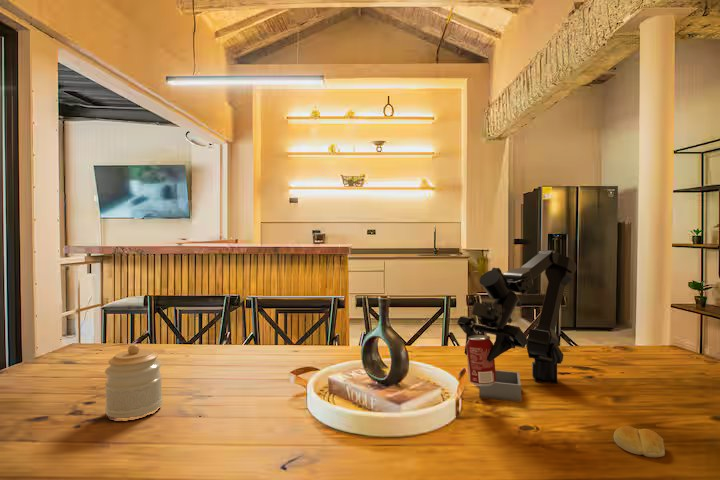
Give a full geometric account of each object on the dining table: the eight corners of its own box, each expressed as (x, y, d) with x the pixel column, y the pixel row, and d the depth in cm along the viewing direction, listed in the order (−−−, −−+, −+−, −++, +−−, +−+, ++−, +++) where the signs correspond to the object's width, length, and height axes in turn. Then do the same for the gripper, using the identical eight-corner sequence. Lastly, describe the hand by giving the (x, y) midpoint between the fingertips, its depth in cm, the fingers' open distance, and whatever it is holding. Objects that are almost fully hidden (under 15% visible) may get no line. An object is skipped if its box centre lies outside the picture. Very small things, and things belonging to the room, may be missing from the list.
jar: (173, 405, 111) (172, 340, 111) (132, 426, 99) (131, 353, 99) (136, 399, 115) (135, 336, 115) (93, 419, 103) (91, 349, 103)
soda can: (497, 387, 103) (493, 339, 104) (470, 387, 104) (466, 339, 105) (495, 379, 109) (491, 334, 110) (469, 379, 111) (465, 335, 112)
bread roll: (613, 434, 93) (613, 416, 93) (663, 445, 88) (663, 426, 88) (613, 451, 86) (613, 431, 86) (666, 463, 81) (666, 443, 81)
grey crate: (518, 387, 121) (518, 372, 120) (521, 402, 110) (521, 385, 110) (480, 383, 124) (480, 368, 124) (479, 397, 114) (479, 381, 114)
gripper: (460, 287, 117) (434, 332, 111) (520, 295, 102) (493, 347, 96) (478, 311, 122) (454, 355, 115) (537, 321, 107) (513, 373, 100)
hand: (476, 357), depth 107 cm, fingers closed on soda can, 7 cm apart
